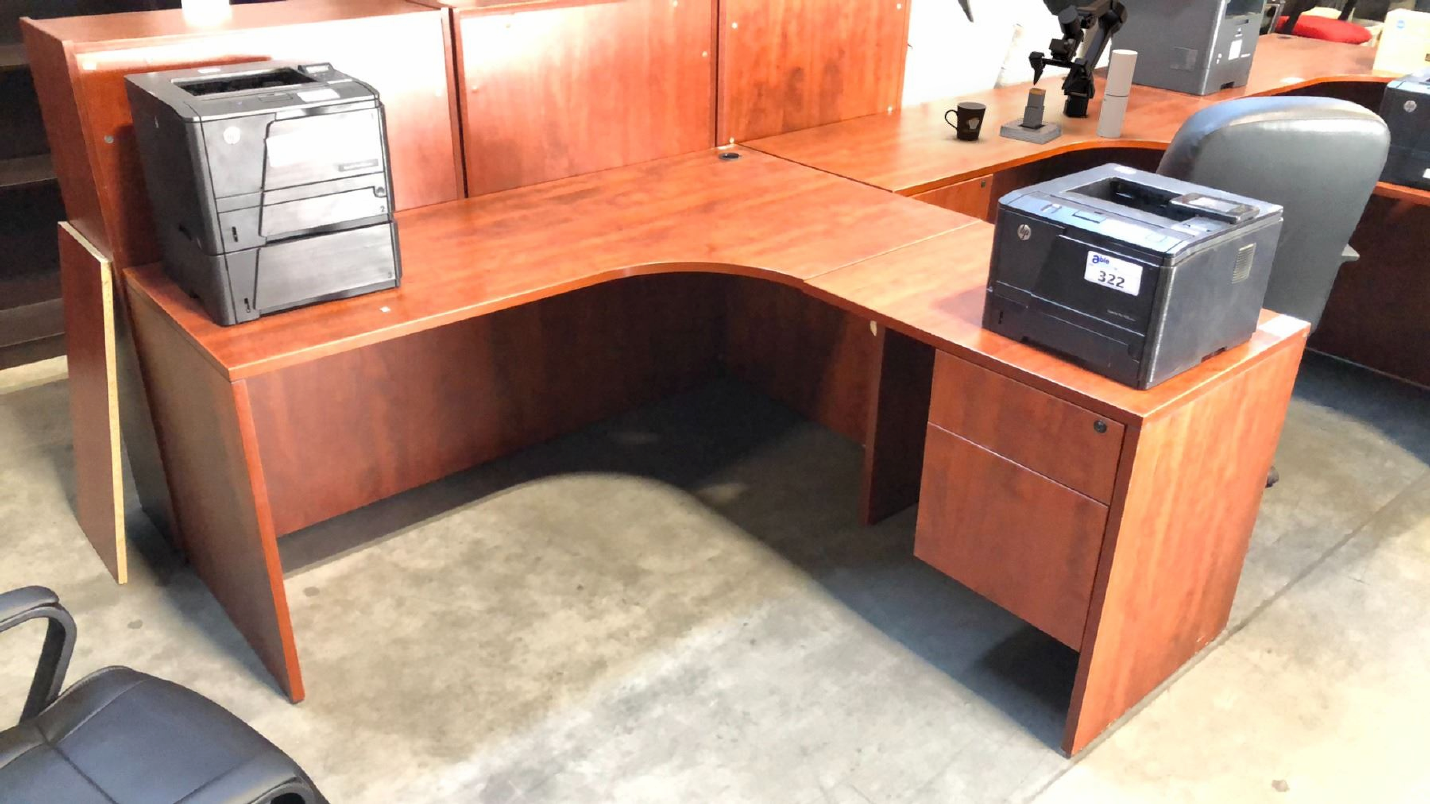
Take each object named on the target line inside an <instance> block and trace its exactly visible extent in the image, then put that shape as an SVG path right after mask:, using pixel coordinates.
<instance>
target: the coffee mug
mask: <svg viewBox="0 0 1430 804" xmlns="http://www.w3.org/2000/svg"><path fill="white" fill-rule="evenodd" d="M956 106H957V107H956V108H957V109H956V110H955V109H949V110H947V111H945V113H944V119H945V121H946V123H947V124H948V125H950V126H951V127H953V129H955V130H956V139H957V140H960V141H963V142H964V141H965V142H975V141H978V140H979V137H980V134H981V133H980V132H981V129H982V125H983V123H984V122H983V121H984V117H985V114H986V109H987V105H986V104H984V103H980V102H975V101H961V102H958V103H957V105H956ZM952 112H953V113H954V114H955V116H956V126H955V125H954V124H952V123H951V121H949V120H948V119H947V116H948V114H949V113H952Z"/></svg>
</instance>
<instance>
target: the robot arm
mask: <svg viewBox="0 0 1430 804" xmlns="http://www.w3.org/2000/svg"><path fill="white" fill-rule="evenodd" d="M1127 19H1128V11H1127V8H1126V6H1125V5H1124V4H1123V3H1121V2H1120V1H1119V0H1095V1H1094V2H1092V3H1090V4H1089V5H1087V6H1078V7H1077V5H1069V7H1068V8H1065V9H1063V10H1061V11H1060V12H1059V13H1058V16H1057V20H1058V23H1059V27H1060V31H1061V34H1062V38H1061V39H1059V38H1053V37H1052V38H1051V40H1050V42H1049V46H1048V50H1049V51H1050V52H1049V54H1050V56H1052V57H1046V56H1045V52H1040V51H1036V50H1035V51H1034V50H1033V51H1032V52H1030V53H1029V55H1028V56H1027V57H1028V61H1029V64H1030V67H1031V68H1032V69H1033V71H1034V74H1033V80H1032V85H1033V86H1036V85H1037V83H1038V82H1039V81H1040V78H1041V77H1042V75H1043V73H1044V72H1045V71H1044V69H1045V68H1046V66H1052V67H1053V66H1054V67H1057V68H1064V69H1069V72H1068V74H1067V75H1066V78H1065V79H1064V81H1063V83H1062V85H1061V90H1062V91H1063V96H1067V99H1065V101H1064V107H1063V111H1062V113H1063V114H1064V115H1065V116H1066V117H1068V118H1088V117H1089V116H1088V114H1087V111H1088V106H1089V101H1090V100H1093V99H1094V97H1095V94H1096V88H1095V83H1094V81H1095V77H1094V70H1095V69H1096V67H1097V65H1098V64H1099V63H1098V62H1099V61H1100V59H1101V57H1102V55H1103V52H1105V49H1106V47H1107V45H1108V42H1109V41H1110V39H1111V37H1112V36H1113V35H1114V34H1116V33H1117V32H1119V31H1120V30H1121V29H1122V27H1123V26H1124V24H1125V23H1126V22H1127ZM1096 23H1097V24H1098V25H1097V26H1098V28H1097V30H1096V33H1095V34H1094V36H1093V38H1092V40H1091V42H1090V44H1089V46H1088V48H1087V50H1086V52H1085V54H1084V56H1083V58H1082V57H1077V56H1078V55H1077V54H1078V53H1077V51H1078V49H1079V47H1080V45H1081V43H1084V41H1085V32H1084V30H1089V31H1090V30H1092V29H1093V27H1094V26H1096ZM1075 57H1076V58H1075ZM1074 58H1075V59H1074ZM1073 59H1074V61H1073Z"/></svg>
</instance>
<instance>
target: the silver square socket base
mask: <svg viewBox="0 0 1430 804" xmlns="http://www.w3.org/2000/svg"><path fill="white" fill-rule="evenodd" d="M1023 118H1024V117H1018V118H1016V119H1014V120H1012V121H1010V122H1007V123H1005V124H1002V125H1000V128H999V137H1005V138H1009V139H1014V140H1020V141H1023V142H1024V141H1025V142H1027V143H1028V142H1030V143H1033V144H1038V143H1039V144H1040V145H1043V144H1045V143H1046V144H1047V142H1049V141H1052V140H1054V139H1055V138H1056V139H1057V138H1058V137H1060V136H1062V132H1063V127H1064V126H1063V125H1062V124H1058V123H1051V122H1046V121H1042V125H1041V128H1040V129H1038V130H1034V129H1029V128H1024V127H1022V125H1023Z"/></svg>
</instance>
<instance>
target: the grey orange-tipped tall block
mask: <svg viewBox="0 0 1430 804" xmlns="http://www.w3.org/2000/svg"><path fill="white" fill-rule="evenodd" d="M1046 92H1047V89H1044V88H1038V87H1032V88H1029V89H1028V96H1027V102H1026V103H1027V104H1026V106H1025V107H1024V111H1023V112H1024V113H1023V117H1022V118H1023V125H1022V127H1024V128H1029V129H1034V130H1038V129H1040V128H1041V125H1042V122H1043V119H1044V118H1043V117H1044V111H1045V108H1046V107H1045V100H1046V99H1045V98H1046Z"/></svg>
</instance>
